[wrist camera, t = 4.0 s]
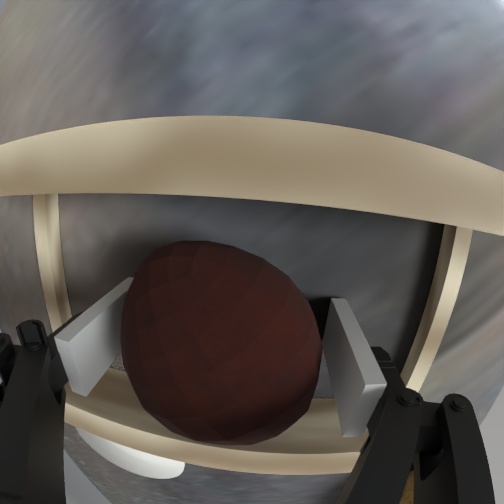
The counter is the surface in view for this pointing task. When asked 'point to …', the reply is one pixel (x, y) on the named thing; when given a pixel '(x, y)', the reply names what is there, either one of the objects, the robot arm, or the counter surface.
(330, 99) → the counter surface
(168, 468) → the plate
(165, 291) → the dark brown rounded piece
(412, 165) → the cradle
